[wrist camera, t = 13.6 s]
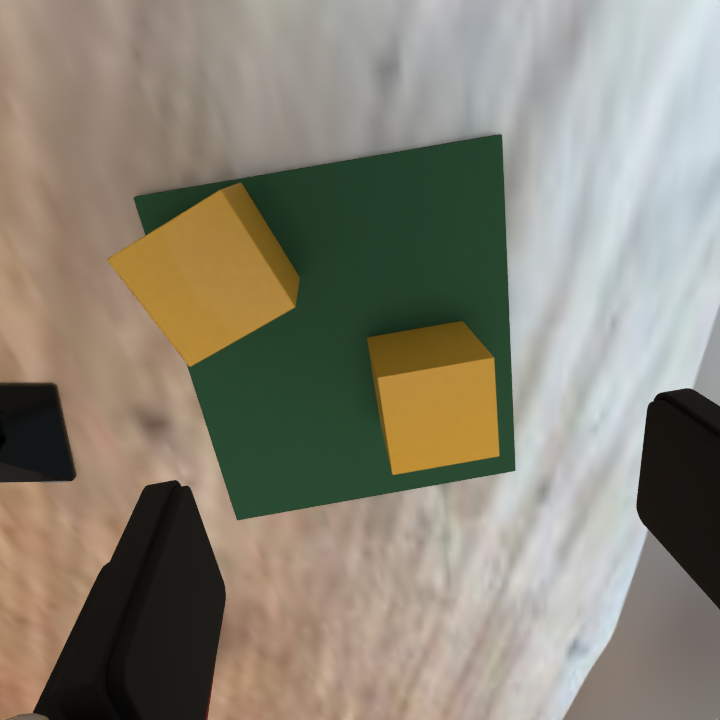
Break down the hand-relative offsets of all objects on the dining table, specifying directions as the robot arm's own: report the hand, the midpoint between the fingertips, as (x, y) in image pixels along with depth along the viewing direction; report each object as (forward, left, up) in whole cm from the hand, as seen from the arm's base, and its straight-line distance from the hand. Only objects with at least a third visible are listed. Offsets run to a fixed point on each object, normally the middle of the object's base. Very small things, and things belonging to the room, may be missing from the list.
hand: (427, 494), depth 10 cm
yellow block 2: (+3, -7, -20) cm, 22 cm away
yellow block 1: (-7, +2, -20) cm, 22 cm away
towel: (-1, -5, -21) cm, 22 cm away
